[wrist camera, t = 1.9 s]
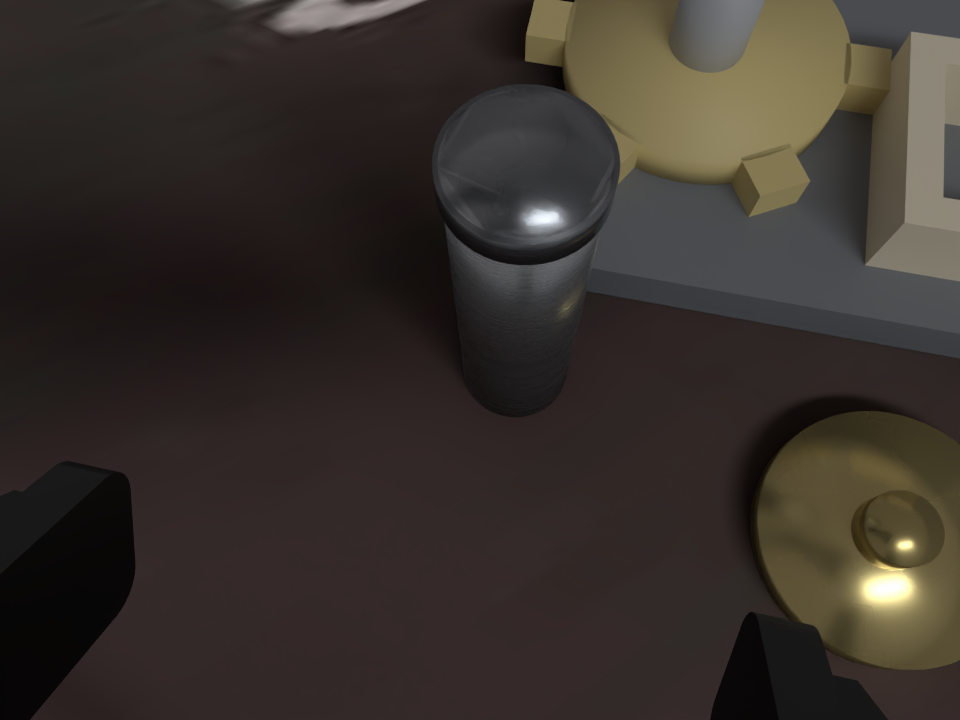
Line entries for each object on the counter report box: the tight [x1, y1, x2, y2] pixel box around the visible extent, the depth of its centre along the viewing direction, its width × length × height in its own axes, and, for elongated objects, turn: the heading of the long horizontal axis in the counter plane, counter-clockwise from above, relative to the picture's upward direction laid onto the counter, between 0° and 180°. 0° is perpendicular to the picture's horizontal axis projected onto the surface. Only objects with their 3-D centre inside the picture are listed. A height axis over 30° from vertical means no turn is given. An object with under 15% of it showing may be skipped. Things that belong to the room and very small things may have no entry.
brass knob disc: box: [750, 411, 960, 670], centre depth 22 cm, size 7×7×2 cm
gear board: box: [525, 0, 960, 358], centre depth 25 cm, size 20×14×6 cm
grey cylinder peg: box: [432, 84, 620, 417], centre depth 20 cm, size 3×3×11 cm
